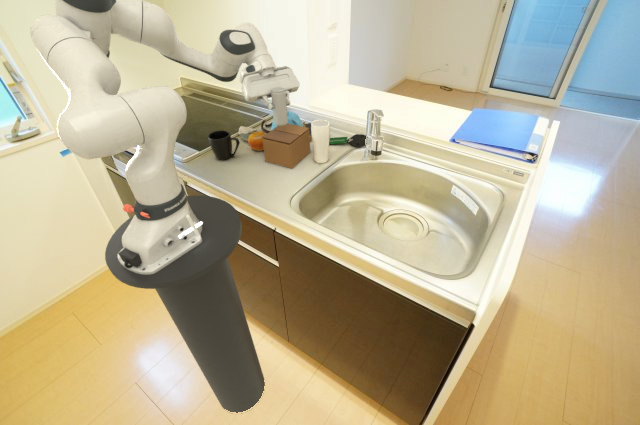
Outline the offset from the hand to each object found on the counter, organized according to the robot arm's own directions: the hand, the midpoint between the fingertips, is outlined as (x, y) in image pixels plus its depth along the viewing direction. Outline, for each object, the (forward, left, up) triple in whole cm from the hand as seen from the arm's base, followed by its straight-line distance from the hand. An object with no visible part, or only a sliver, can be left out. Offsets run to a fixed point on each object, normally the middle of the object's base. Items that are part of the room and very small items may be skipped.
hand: (280, 106), depth 108 cm
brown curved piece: (+22, +26, -19) cm, 39 cm away
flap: (-1, 0, -11) cm, 11 cm away
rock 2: (+25, -20, -17) cm, 36 cm away
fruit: (+3, +14, -21) cm, 26 cm away
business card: (+19, -12, -20) cm, 30 cm away
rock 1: (+5, +24, -20) cm, 32 cm away
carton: (+3, 0, -21) cm, 21 cm away
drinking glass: (+6, -13, -21) cm, 25 cm away
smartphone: (+23, -4, -20) cm, 31 cm away
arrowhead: (+11, +25, -20) cm, 33 cm away
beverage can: (0, +1, -7) cm, 7 cm away
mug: (-8, +21, -21) cm, 31 cm away
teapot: (+19, +12, -21) cm, 30 cm away
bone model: (+25, +4, -22) cm, 33 cm away
